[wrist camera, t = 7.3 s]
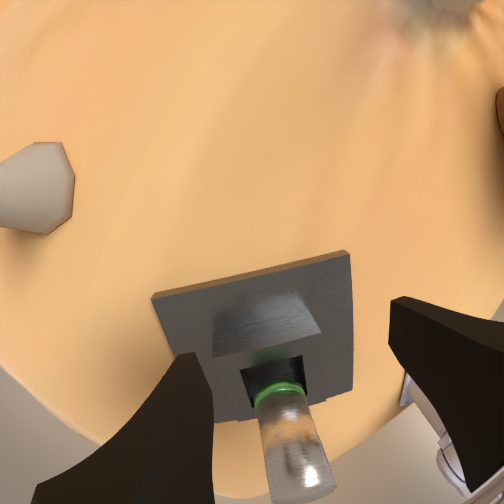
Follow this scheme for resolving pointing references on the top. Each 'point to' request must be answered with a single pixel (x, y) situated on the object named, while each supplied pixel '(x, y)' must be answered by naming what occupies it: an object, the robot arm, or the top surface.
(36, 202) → the flask
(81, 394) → the top surface
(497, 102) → the plant pot
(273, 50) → the top surface
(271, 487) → the steel column
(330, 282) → the charcoal stand
